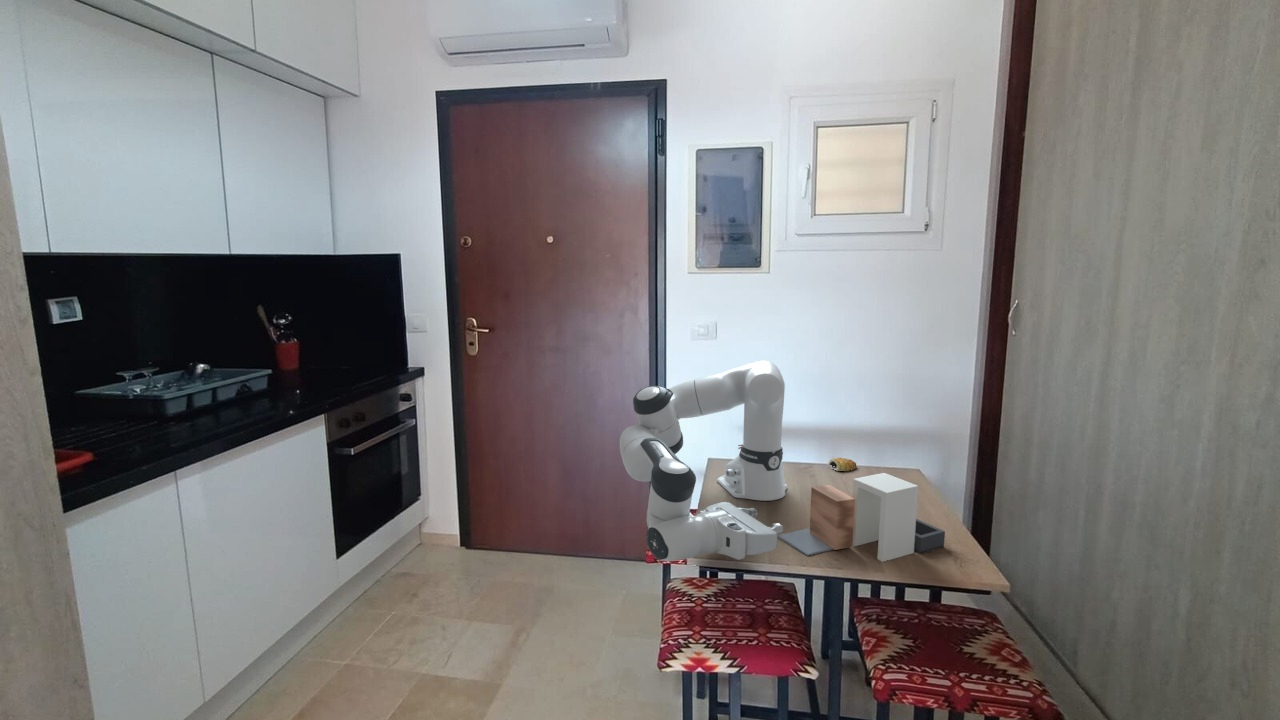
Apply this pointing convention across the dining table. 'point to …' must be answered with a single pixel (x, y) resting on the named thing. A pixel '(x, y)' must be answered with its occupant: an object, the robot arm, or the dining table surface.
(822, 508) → the block
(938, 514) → the dining table surface
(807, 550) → the mat
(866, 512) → the white arch frame
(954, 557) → the dining table surface
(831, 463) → the pastry
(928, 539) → the bin
